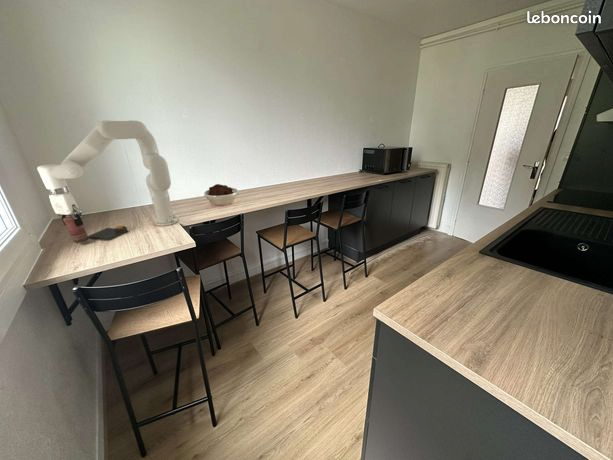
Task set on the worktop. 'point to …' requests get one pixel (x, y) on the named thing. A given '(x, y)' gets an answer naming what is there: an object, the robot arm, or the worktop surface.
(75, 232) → the can
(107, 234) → the scale
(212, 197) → the filled cream bowl
